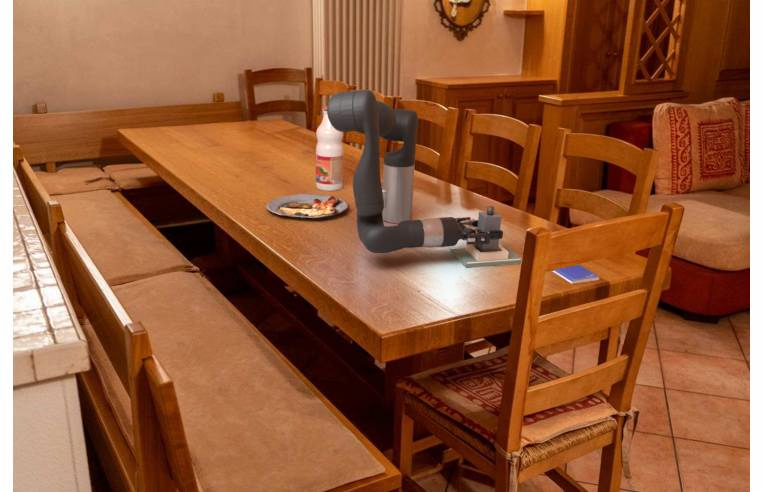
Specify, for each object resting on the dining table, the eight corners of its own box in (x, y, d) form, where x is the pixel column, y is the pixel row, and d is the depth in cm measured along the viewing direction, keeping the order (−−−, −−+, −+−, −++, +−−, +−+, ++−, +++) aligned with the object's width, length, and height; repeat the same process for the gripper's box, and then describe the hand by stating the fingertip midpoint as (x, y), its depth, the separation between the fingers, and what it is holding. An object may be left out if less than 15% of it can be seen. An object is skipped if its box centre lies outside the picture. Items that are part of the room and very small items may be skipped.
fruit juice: (344, 191, 237) (345, 109, 227) (316, 191, 235) (316, 109, 225) (341, 183, 245) (342, 104, 236) (314, 184, 244) (314, 104, 234)
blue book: (599, 275, 171) (569, 258, 181) (572, 279, 168) (543, 261, 178) (599, 281, 171) (569, 263, 182) (571, 285, 168) (542, 267, 179)
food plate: (356, 203, 224) (356, 193, 223) (337, 226, 202) (337, 215, 201) (283, 198, 229) (282, 188, 227) (257, 220, 207) (256, 209, 206)
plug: (481, 257, 179) (486, 209, 175) (475, 251, 183) (479, 204, 179) (498, 256, 180) (503, 209, 176) (491, 250, 184) (496, 204, 180)
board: (465, 267, 175) (466, 256, 174) (450, 252, 185) (451, 241, 184) (522, 263, 179) (524, 252, 178) (504, 248, 189) (506, 238, 188)
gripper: (447, 227, 168) (508, 224, 172) (428, 210, 181) (485, 207, 185) (445, 256, 171) (505, 252, 175) (427, 236, 183) (483, 233, 188)
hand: (495, 228), depth 180 cm, fingers open, 8 cm apart
